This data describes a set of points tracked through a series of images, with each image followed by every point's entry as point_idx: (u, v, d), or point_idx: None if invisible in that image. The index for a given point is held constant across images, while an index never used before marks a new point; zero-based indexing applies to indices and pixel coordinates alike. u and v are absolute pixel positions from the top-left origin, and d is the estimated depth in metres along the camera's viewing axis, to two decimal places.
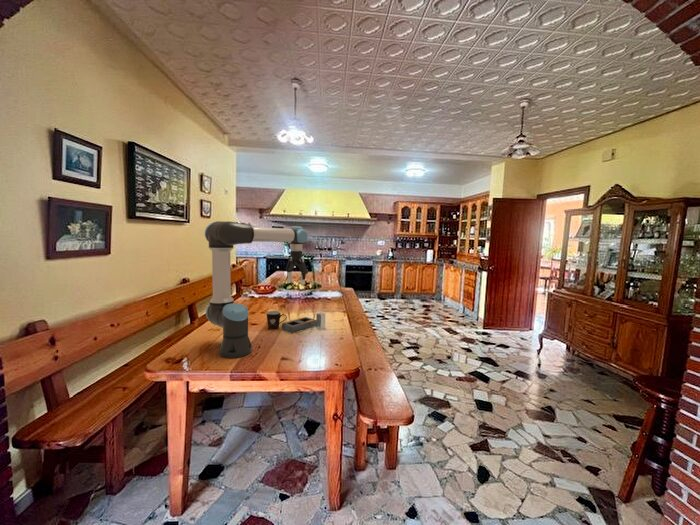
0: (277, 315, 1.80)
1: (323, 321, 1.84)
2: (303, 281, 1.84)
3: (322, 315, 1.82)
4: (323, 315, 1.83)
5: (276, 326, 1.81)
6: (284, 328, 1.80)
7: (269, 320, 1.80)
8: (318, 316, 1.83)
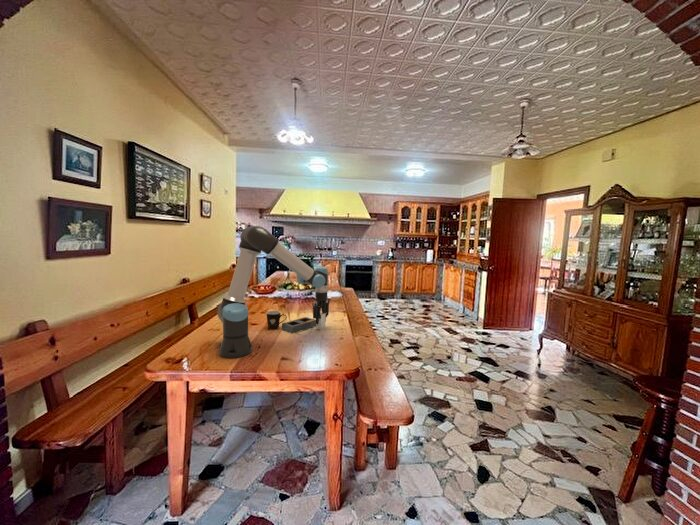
0: (277, 315, 1.80)
1: (323, 321, 1.84)
2: (317, 325, 1.83)
3: (322, 315, 1.82)
4: (323, 315, 1.83)
5: (276, 326, 1.81)
6: (284, 328, 1.80)
7: (269, 320, 1.80)
8: None
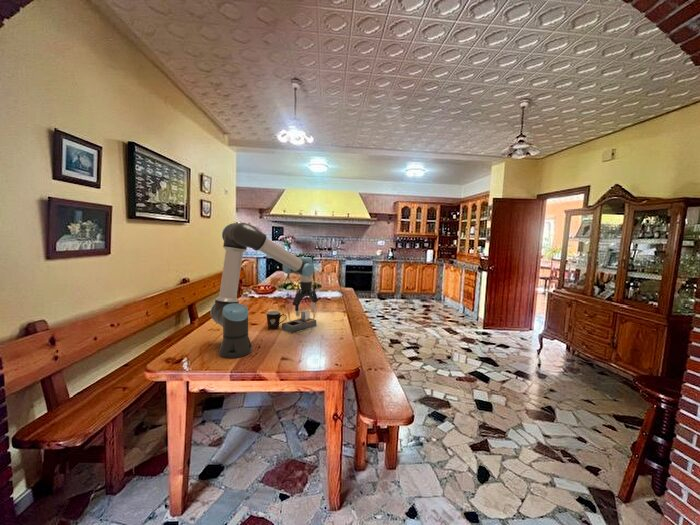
0: (277, 315, 1.80)
1: (307, 318, 1.88)
2: (297, 312, 1.83)
3: (306, 313, 1.87)
4: (307, 313, 1.88)
5: (276, 326, 1.81)
6: (284, 328, 1.80)
7: (269, 320, 1.80)
8: (302, 314, 1.87)
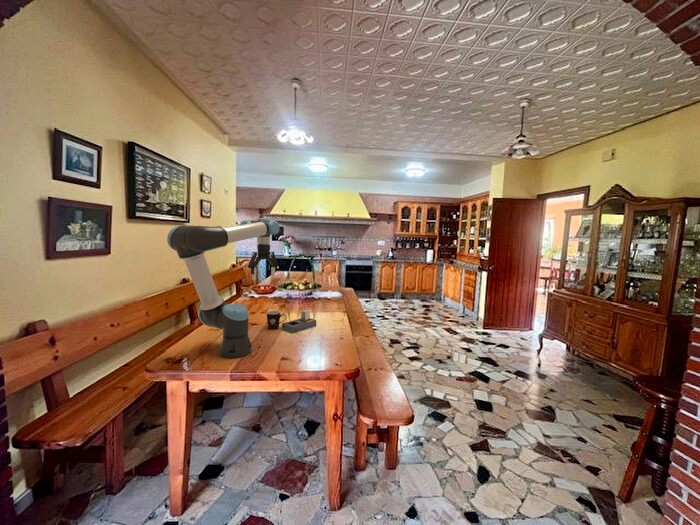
0: (277, 315, 1.80)
1: (307, 318, 1.88)
2: (253, 276, 1.72)
3: (306, 313, 1.87)
4: (307, 313, 1.88)
5: (276, 326, 1.81)
6: (284, 328, 1.80)
7: (269, 320, 1.80)
8: (302, 314, 1.87)
